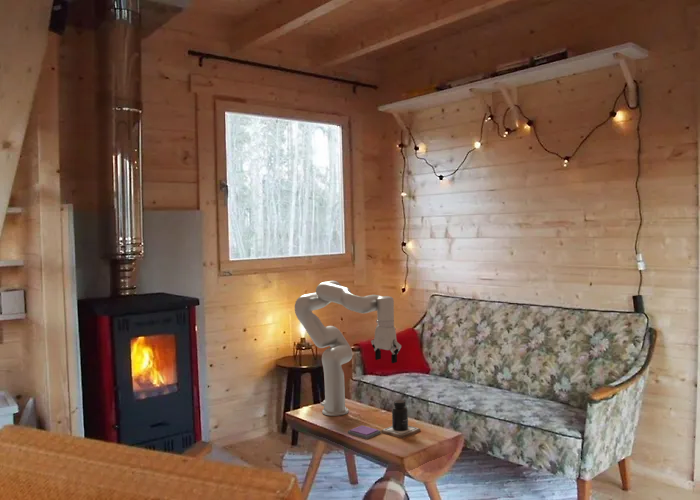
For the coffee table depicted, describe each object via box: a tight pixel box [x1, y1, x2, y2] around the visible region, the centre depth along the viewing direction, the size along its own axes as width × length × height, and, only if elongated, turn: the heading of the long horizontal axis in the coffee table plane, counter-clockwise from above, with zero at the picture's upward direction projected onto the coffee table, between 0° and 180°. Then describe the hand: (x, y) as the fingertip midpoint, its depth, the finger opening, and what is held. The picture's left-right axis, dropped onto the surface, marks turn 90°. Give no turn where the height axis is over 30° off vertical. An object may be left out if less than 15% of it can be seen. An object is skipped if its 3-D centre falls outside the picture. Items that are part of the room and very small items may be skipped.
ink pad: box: [347, 425, 382, 440], centre depth 269 cm, size 11×9×2 cm
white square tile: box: [380, 425, 421, 439], centre depth 270 cm, size 12×12×1 cm
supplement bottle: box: [391, 399, 409, 431], centre depth 270 cm, size 7×7×12 cm
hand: (386, 361), depth 284 cm, fingers open, 9 cm apart
